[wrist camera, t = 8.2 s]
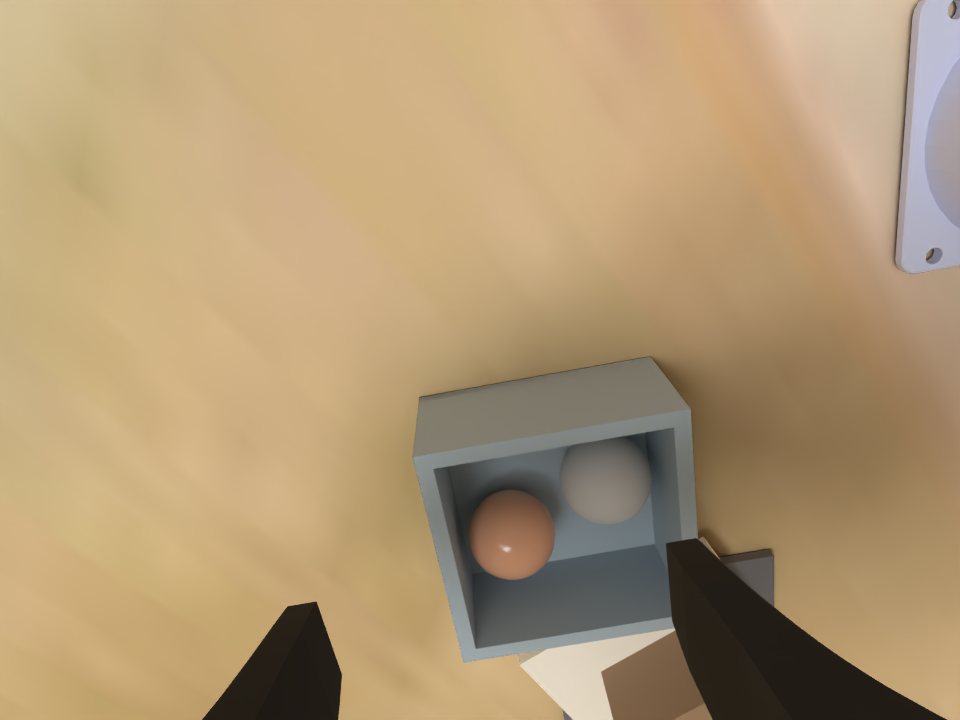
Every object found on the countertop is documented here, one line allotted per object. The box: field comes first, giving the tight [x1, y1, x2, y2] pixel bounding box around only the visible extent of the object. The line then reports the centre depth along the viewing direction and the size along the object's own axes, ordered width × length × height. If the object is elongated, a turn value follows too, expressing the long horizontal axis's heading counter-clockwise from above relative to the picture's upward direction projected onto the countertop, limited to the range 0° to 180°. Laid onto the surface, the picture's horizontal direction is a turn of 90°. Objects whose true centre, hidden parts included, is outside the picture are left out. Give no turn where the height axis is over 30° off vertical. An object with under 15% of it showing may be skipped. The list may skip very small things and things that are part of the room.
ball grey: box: [560, 436, 652, 524], centre depth 21 cm, size 3×3×3 cm
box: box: [413, 357, 698, 663], centre depth 22 cm, size 8×8×4 cm
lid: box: [518, 537, 720, 720], centre depth 25 cm, size 9×9×4 cm
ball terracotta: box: [468, 489, 556, 580], centre depth 22 cm, size 3×3×3 cm
